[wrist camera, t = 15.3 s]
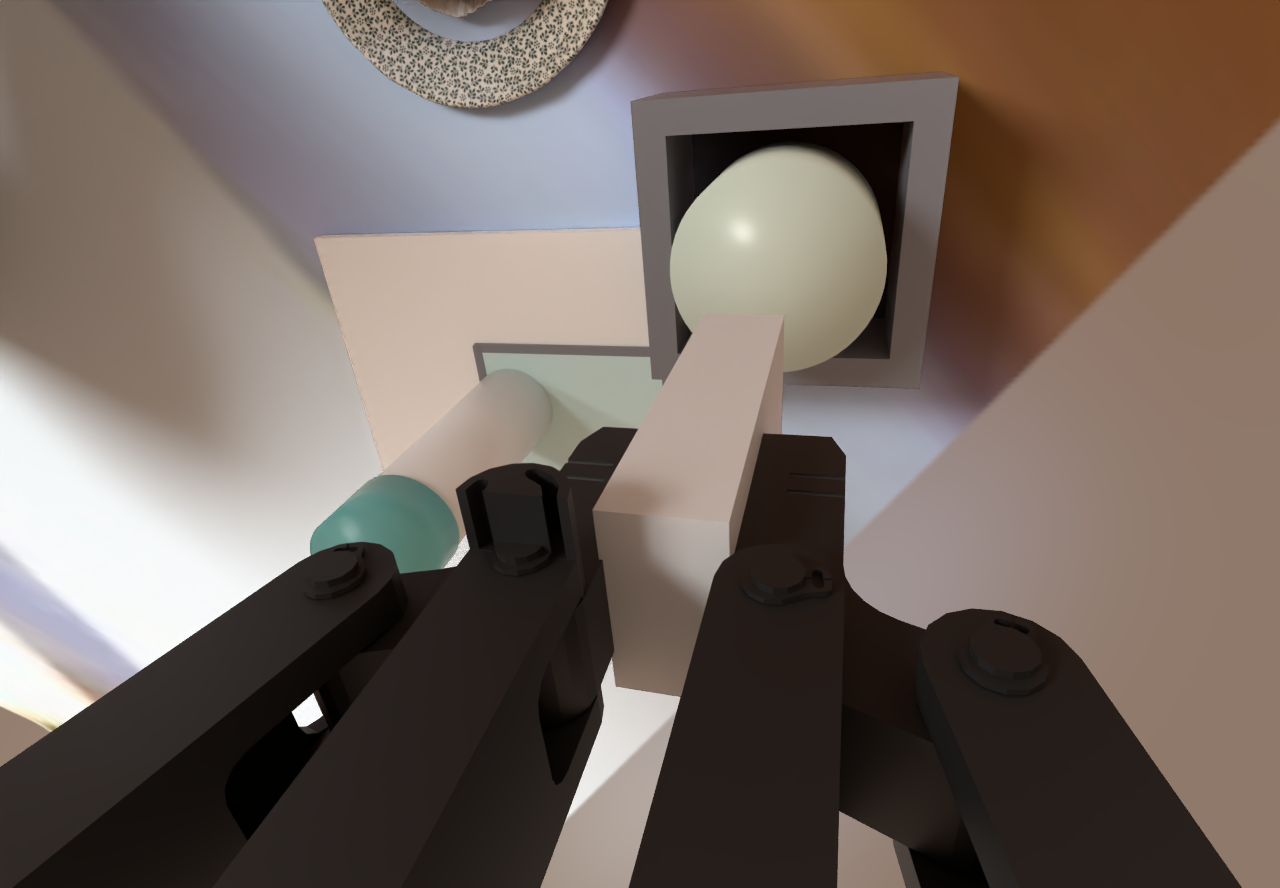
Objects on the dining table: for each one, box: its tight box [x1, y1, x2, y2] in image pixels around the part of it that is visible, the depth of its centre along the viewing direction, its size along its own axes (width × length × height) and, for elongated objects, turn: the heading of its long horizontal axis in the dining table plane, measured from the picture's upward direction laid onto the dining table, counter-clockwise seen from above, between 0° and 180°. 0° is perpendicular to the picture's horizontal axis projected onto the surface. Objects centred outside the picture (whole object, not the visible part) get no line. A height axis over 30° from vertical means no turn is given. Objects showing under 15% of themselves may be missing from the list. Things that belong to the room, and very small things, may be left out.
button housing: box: [631, 72, 959, 389], centre depth 23 cm, size 9×9×4 cm
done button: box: [670, 142, 887, 372], centre depth 21 cm, size 6×6×4 cm
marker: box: [310, 369, 552, 574], centre depth 26 cm, size 4×4×12 cm
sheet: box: [314, 227, 666, 471], centre depth 31 cm, size 18×14×1 cm
